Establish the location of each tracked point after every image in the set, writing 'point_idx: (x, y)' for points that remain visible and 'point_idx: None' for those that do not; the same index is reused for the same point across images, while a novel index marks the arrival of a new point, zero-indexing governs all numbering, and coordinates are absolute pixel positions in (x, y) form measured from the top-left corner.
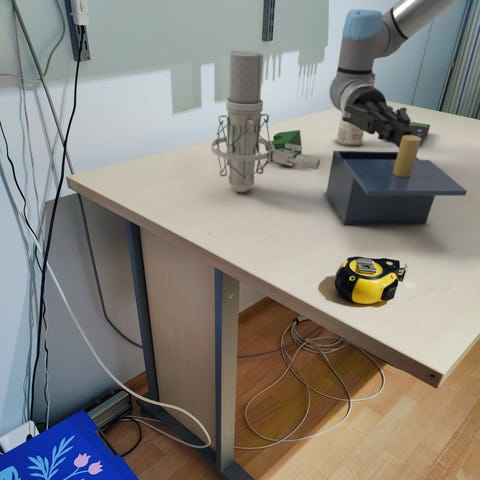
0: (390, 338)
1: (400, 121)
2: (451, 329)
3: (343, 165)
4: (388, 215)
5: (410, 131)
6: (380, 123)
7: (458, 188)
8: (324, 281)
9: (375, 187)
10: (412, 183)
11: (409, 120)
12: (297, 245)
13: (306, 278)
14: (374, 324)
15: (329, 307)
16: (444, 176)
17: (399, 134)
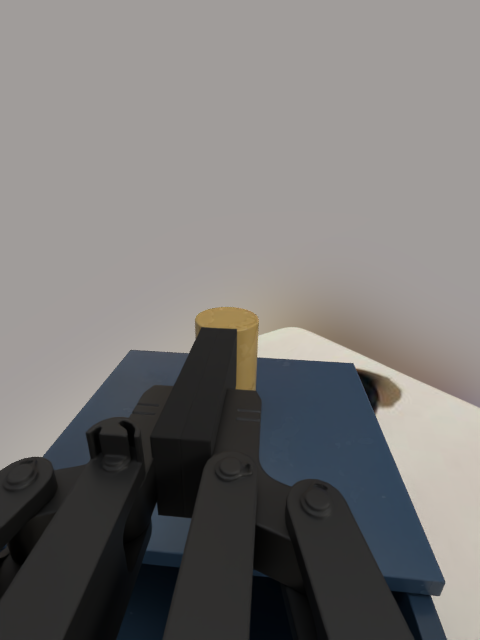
0: (325, 343)
1: (128, 439)
2: (262, 344)
3: (433, 608)
4: None
5: (208, 328)
6: (267, 484)
7: (138, 357)
8: (394, 400)
9: (334, 371)
10: None
11: (23, 462)
12: (466, 485)
13: (422, 407)
14: (336, 353)
15: (384, 370)
16: (105, 399)
17: (233, 363)
